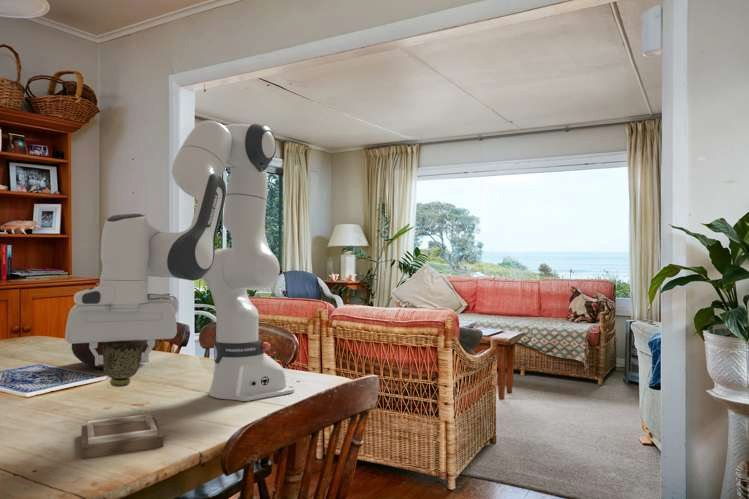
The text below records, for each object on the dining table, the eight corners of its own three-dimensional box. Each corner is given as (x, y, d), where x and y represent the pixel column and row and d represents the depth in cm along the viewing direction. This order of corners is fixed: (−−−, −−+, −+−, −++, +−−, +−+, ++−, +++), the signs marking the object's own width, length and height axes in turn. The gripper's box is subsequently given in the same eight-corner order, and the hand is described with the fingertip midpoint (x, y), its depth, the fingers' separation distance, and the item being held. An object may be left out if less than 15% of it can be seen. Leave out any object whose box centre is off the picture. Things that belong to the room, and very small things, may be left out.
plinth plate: (154, 425, 118) (154, 412, 118) (163, 446, 106) (163, 431, 106) (81, 435, 112) (81, 420, 112) (81, 458, 99) (82, 442, 99)
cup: (93, 383, 108) (97, 343, 109) (131, 380, 114) (134, 341, 114) (106, 391, 103) (110, 349, 103) (146, 387, 108) (149, 346, 109)
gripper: (176, 292, 117) (174, 357, 116) (66, 293, 107) (64, 364, 107) (181, 294, 111) (179, 362, 111) (66, 295, 101) (63, 370, 101)
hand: (122, 363), depth 109 cm, fingers closed on cup, 7 cm apart
